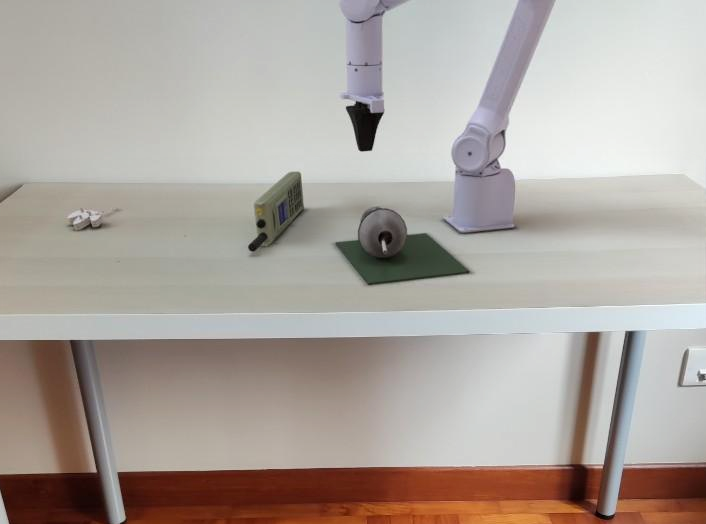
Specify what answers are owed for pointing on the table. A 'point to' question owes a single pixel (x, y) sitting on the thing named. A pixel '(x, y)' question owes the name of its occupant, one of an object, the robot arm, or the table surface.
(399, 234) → the beverage cup
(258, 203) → the handheld radio
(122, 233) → the table surface
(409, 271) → the mat
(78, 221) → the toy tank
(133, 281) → the table surface
